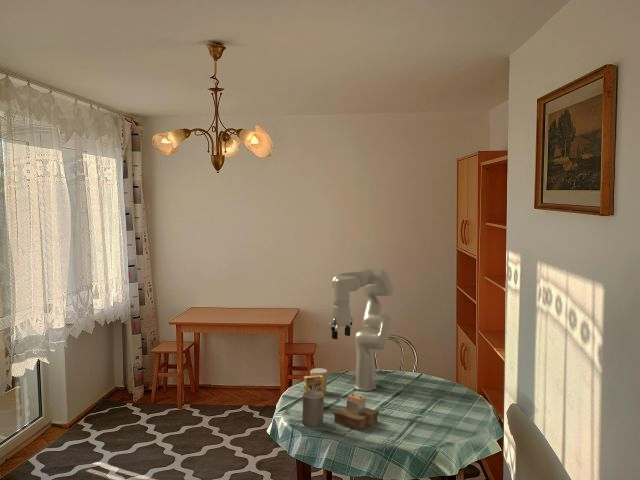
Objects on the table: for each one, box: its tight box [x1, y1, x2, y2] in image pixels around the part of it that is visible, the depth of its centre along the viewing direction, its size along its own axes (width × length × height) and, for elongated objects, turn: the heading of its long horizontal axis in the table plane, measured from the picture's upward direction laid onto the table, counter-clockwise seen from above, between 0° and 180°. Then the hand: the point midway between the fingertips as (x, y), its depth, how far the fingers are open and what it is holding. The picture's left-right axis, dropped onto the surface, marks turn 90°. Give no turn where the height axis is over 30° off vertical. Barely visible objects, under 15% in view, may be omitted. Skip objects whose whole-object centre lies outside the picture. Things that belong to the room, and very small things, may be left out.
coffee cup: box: [309, 367, 329, 395], centre depth 308 cm, size 9×9×12 cm
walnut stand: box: [332, 405, 380, 432], centre depth 268 cm, size 15×15×5 cm
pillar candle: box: [301, 391, 325, 428], centre depth 265 cm, size 10×10×15 cm
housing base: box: [346, 399, 367, 415], centre depth 268 cm, size 5×7×5 cm
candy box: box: [303, 375, 323, 393], centre depth 287 cm, size 9×4×15 cm, turn 107°
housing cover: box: [347, 393, 366, 404], centre depth 267 cm, size 4×7×2 cm, turn 48°
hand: (341, 337), depth 288 cm, fingers open, 9 cm apart
